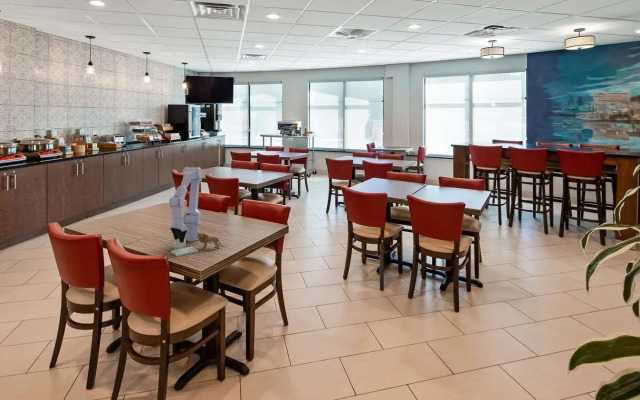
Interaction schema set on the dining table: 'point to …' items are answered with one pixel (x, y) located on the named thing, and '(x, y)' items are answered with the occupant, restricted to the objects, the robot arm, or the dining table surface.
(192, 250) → the pale green rectangular panel
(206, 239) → the lion figurine
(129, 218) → the dining table surface
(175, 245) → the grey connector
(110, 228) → the dining table surface
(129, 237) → the dining table surface
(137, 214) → the dining table surface
